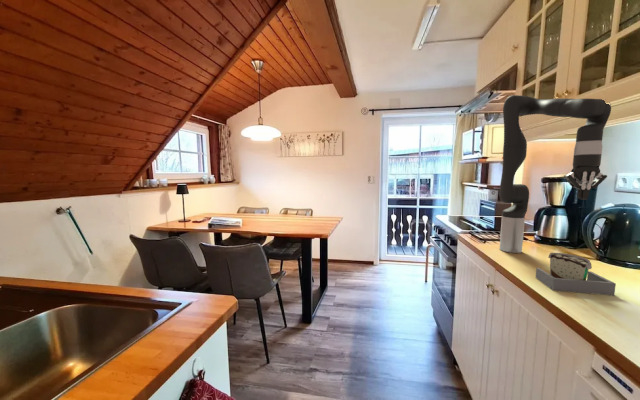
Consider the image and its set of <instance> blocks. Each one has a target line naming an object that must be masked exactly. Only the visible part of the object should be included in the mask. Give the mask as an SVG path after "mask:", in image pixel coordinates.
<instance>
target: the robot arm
mask: <svg viewBox="0 0 640 400" xmlns="http://www.w3.org/2000/svg"><path fill="white" fill-rule="evenodd" d="M602 99H603V98H549V99H541V98H535V97H531V96H528V95H518V94H517V95H516V94H515V95H513V94H512V95H510V96H508V97H506V99H505V101H504V103H503V107H502V116H503V118H502V119H503V147H502V169H501V171H502V172H501V178H500V183H499V184H500V185H499V191H498V192H499V194H498V195H499V199H500V201H501V202H502V203H504V204H512V205H511V206H509V207H508V208H505V209H503V210H502V211H501V223H500V224H501V226H500V237H499V250H500V251H502V252H507V253H513V254H521V253H523V245H524V244H523V243H524V232H525V222H526V221H525V219H526V214H527V212H528V207H529V206H528V205H529V200H530V191H529V190H530V189H529V187H528V185H526V184H522V183H518V184H517V183H515V184H514V179H515V175H516V172H517V171H518V170H519V168H520V167H521V165H522V164H523V163H524V161H525V160H526V159H527V158H526V157H527V148H528V146H527V145H528V142H527V139H526V137H525V135H524V133H523V131H522V128H521V126H520V117H522V116H530V115H531V116H532V115H543V116H550V117H557V118H558V117H561V118H562V117H563V118H576V119H583V120H584V119H585V120H586V122H585V124H584V125H582V126H579V127H578V128H577V130H576V131H577V132H576V139H575V144H574V149H573V157H572V159H573V160H572V169H571V170H570V172H569V173H568V174H564V175H563V178H564V179H565V180H566V181H567V183H568V184H569V186H571V188H573V189H574V188H575V189H577V195H576V196H577V198H578V199H579V200H584V201H585V200H586V201H587V200H588V199H589V197H590V190H592V189H596V188H597V187H599V185H601V183H603V181H605V180H606V179H607V178H608V175H607V174H603V173H602V172H601V169H600V166H601V162H602V154H603V137H604V130H605V129H604V128H605V127H606V125H607V122H608V120H609V117H610V115H611V113H612V106H611V105H612V104H610V105H609V104H606V103H605V101H604V100H602Z"/></svg>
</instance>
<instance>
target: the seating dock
mask: <svg viewBox="0 0 640 400" xmlns="http://www.w3.org/2000/svg"><path fill="white" fill-rule="evenodd" d="M535 279H536V280H538V281H539V282H540V283H542V284H543V285H545V286H546V287H547V288H549V289H550V290H551V291H557V292H569V293H579V294H580V293H581V294H582V293H583V294H593V295H607V296H615V295H616V294H615V293H616V283H615V282H614V281H611V280H610V279H607V278H605V277H604V276H601V275H599V274H597V273H595V272H594V271H589V270H588V274H587V278H586V280H576V279H562V278H555V277H553V276H551V275H550V273H549V272H547V271H545V270H544V269H542V268H540V267H536V270H535Z"/></svg>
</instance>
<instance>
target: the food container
mask: <svg viewBox="0 0 640 400" xmlns="http://www.w3.org/2000/svg"><path fill="white" fill-rule="evenodd" d="M547 258H549V265H550V266H549V267H550V268H549V269H550V272H549V274H550V275H551V276H553V277H555V278H562V279H576V280H587V275H588V271H589V270H592V267H593V266H592V262H591V260H590V259H588V258H586V257H583V256H580V255H577V254H576V255H575V254H570V253H565V252H564V253H563V252H550V253H549V255H548V257H547Z"/></svg>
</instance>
